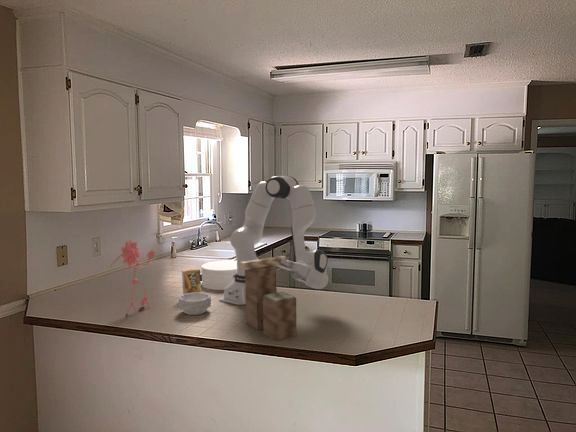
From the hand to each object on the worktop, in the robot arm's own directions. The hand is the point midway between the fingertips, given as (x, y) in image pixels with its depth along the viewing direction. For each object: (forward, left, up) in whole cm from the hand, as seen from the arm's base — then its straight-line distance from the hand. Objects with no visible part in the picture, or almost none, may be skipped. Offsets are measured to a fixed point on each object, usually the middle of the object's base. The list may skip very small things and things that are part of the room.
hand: (277, 259), depth 212 cm
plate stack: (-59, +47, -29) cm, 80 cm away
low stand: (+8, -16, -28) cm, 33 cm away
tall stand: (-5, -8, -28) cm, 30 cm away
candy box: (-59, +14, -28) cm, 67 cm away
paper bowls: (-43, -5, -28) cm, 52 cm away
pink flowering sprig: (-74, -14, -28) cm, 80 cm away
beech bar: (-4, -6, -2) cm, 7 cm away
